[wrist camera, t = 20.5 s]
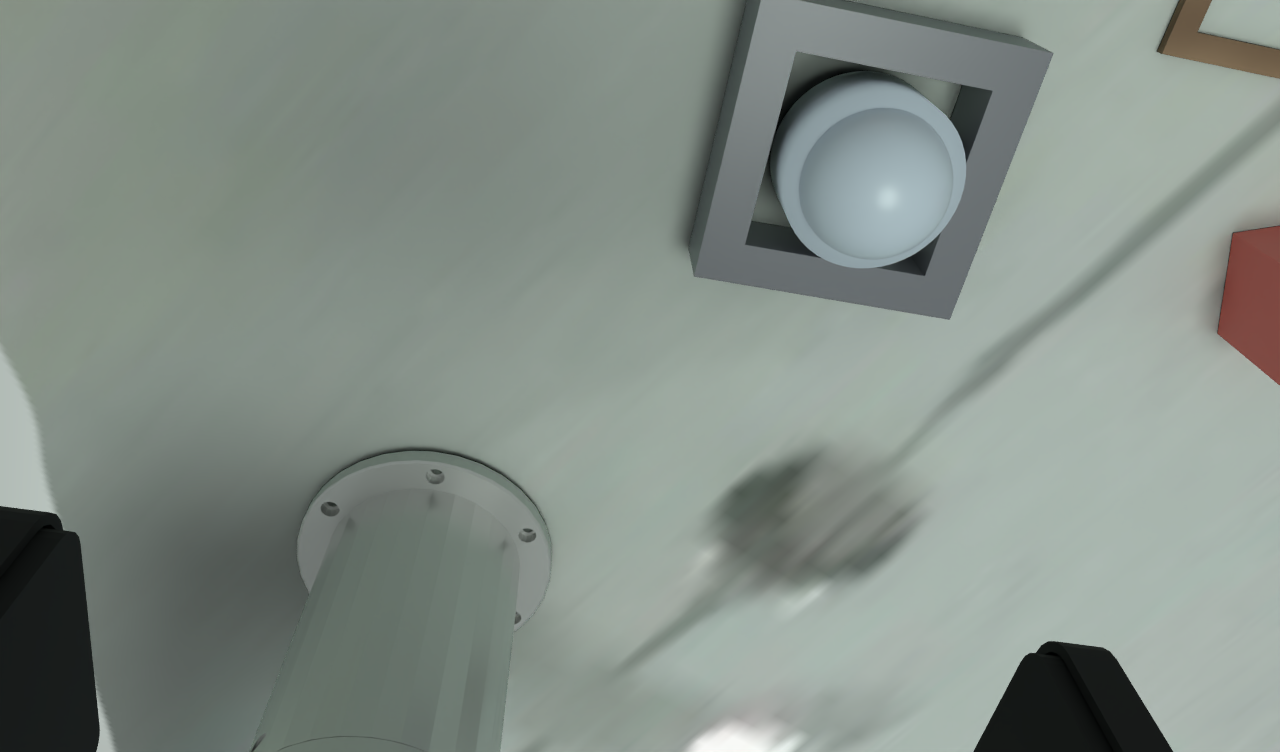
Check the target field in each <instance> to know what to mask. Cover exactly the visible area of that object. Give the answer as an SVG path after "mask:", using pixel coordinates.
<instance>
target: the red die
mask: <svg viewBox="0 0 1280 752" xmlns="http://www.w3.org/2000/svg"><path fill="white" fill-rule="evenodd" d="M1217 334H1219V335H1220V336H1221V337H1222V338H1223V339H1225V340H1226V341H1227V342H1228V343H1229V344H1231V345H1232V346H1233V347H1234V348H1235V349H1237V350H1238V351H1239V352H1240V353H1241V354H1243V355H1244V356H1245V357H1246V358H1247V359H1249V360H1250V361H1251V362H1252V363H1253V364H1255V365H1256V366H1257V367H1258V368H1259V369H1261V370H1262V371H1263V372H1264V373H1265V374H1267V375H1268V376H1269V377H1270V378H1271V379H1273V380H1274V381H1275V382H1276V383H1277V384H1279V385H1280V226H1275V227H1269V228H1262V229H1256V230H1250V231H1243V232H1237V233H1233V237H1232V243H1231V250H1230V256H1229V263H1228V269H1227V276H1226V282H1225V288H1224V295H1223V301H1222V308H1221V314H1220V321H1219V327H1218V333H1217Z"/></svg>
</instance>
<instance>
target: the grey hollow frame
mask: <svg viewBox="0 0 1280 752" xmlns="http://www.w3.org/2000/svg"><path fill="white" fill-rule="evenodd" d="M796 51H797V52H802V53H807V54H812V55H817V56H822V57H827V58H832V59H837V60H842V61H847V62H852V63H857V64H862V65H867V66H872V67H877V68H882V69H887V70H892V71H897V72H902V73H907V74H912V75H917V76H922V77H927V78H932V79H937V80H942V81H947V82H952V83H957V84H962V88H961V91H960V94H959V96H958V99H957V102H956V105H955V108H954V111H953V114H952V116H951V119H950V121H951V122H952V124H953V125H954V127H955V128H956V130H957V132H958V134H959V136H960V139H961V141H962V144H963V148H964V152H965V158H966V179H965V185H964V190H963V193H962V196H961V200H960V202H959V204H958V207H957V209H956V211H955V213H954V214H953V216H952V218H951V219H950V221H949V222H948V224H947V225H946V226H945V228H944V229H943V230H942V231H941V232H940V234H939V235H938V236H937V237H936V238H935V239H934V240H933V241H931V242H930V243H929V244H928V245H927V246H925V247H924V248H923V249H921V250H920V251H918V252H917V253H915V254H913V255H912V256H910V257H908V258H906V259H904V260H901V261H898V262H896V263H893V264H890V265H886V266H882V267H875V268H851V267H845V266H841V265H837V264H834V263H831V262H829V261H826V260H825V259H823V258H821V257H819V256H817V255H816V254H815V253H813V252H812V251H811V250H809V249H808V248H807V247H806V246H805V245H804V244H803V243H802V242H801V241H800V239H799V238H798V237H797V235H796V234H795V232H794V231H793V229H792V228H788V227H782V226H776V225H771V224H765V223H759V222H754V221H751V220H752V216H753V212H754V209H755V205H756V201H757V197H758V194H759V190H760V186H761V182H762V179H763V175H764V171H765V167H766V163H767V160H768V156H769V152H770V148H771V145H772V141H773V137H774V133H775V130H776V126H777V122H778V118H779V114H780V111H781V107H782V103H783V99H784V96H785V92H786V88H787V84H788V80H789V77H790V73H791V69H792V65H793V62H794V58H795V54H796ZM1052 56H1053V53H1052V52H1050V51H1048V50H1046V49H1044V48H1042V47H1040V46H1038V45H1037V44H1035V43H1033V42H1031V41H1029V40H1027V39H1025V38H1023V37H1018V36H1013V35H1008V34H1004V33H999V32H994V31H989V30H984V29H980V28H975V27H970V26H965V25H961V24H956V23H951V22H946V21H941V20H937V19H932V18H927V17H922V16H918V15H913V14H908V13H903V12H898V11H894V10H889V9H884V8H879V7H874V6H870V5H865V4H860V3H855V2H851V1H846V0H747V2H746V6H745V11H744V15H743V19H742V23H741V28H740V32H739V36H738V40H737V45H736V49H735V53H734V57H733V62H732V66H731V70H730V74H729V79H728V83H727V87H726V91H725V96H724V100H723V104H722V108H721V113H720V117H719V121H718V125H717V129H716V134H715V138H714V142H713V146H712V151H711V155H710V159H709V163H708V168H707V172H706V176H705V180H704V185H703V189H702V193H701V197H700V202H699V206H698V210H697V214H696V219H695V223H694V227H693V231H692V236H691V240H690V244H689V253H690V258H691V263H692V268H693V273H694V276H695V277H701V278H707V279H713V280H719V281H725V282H730V283H736V284H742V285H748V286H754V287H760V288H766V289H772V290H778V291H784V292H789V293H795V294H801V295H807V296H813V297H819V298H825V299H831V300H837V301H843V302H849V303H854V304H860V305H866V306H872V307H878V308H884V309H890V310H896V311H902V312H908V313H913V314H919V315H925V316H931V317H937V318H943V319H949V320H950V318H951V315H952V313H953V310H954V307H955V305H956V302H957V300H958V297H959V295H960V292H961V289H962V287H963V284H964V282H965V279H966V277H967V274H968V271H969V269H970V266H971V264H972V261H973V259H974V256H975V254H976V251H977V248H978V246H979V243H980V241H981V238H982V236H983V233H984V230H985V228H986V225H987V223H988V220H989V218H990V215H991V212H992V210H993V207H994V205H995V202H996V200H997V197H998V194H999V192H1000V189H1001V187H1002V184H1003V182H1004V179H1005V177H1006V174H1007V171H1008V169H1009V166H1010V164H1011V161H1012V159H1013V156H1014V153H1015V151H1016V148H1017V146H1018V143H1019V141H1020V138H1021V135H1022V133H1023V130H1024V128H1025V125H1026V123H1027V120H1028V117H1029V115H1030V112H1031V110H1032V107H1033V105H1034V102H1035V100H1036V97H1037V94H1038V92H1039V89H1040V87H1041V84H1042V82H1043V79H1044V76H1045V74H1046V71H1047V69H1048V66H1049V64H1050V61H1051V58H1052Z"/></svg>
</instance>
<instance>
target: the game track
mask: <svg viewBox="0 0 1280 752" xmlns="http://www.w3.org/2000/svg"><path fill="white" fill-rule="evenodd" d="M1211 1H1212V0H1180V1H1179V3H1178V5H1177V7H1176V10H1175V12H1174V14H1173V17H1172V19H1171V21H1170V23H1169V26H1168V28H1167V30H1166V32H1165V35H1164V37H1163V39H1162V42H1161V44H1160V46H1159V48H1158V51H1157V52H1159V53H1161V54H1166V55H1170V56H1175V57H1180V58H1185V59H1189V60H1194V61H1199V62H1204V63H1208V64H1213V65H1218V66H1223V67H1227V68H1232V69H1237V70H1242V71H1246V72H1251V73H1256V74H1261V75H1265V76H1270V77H1275V78H1280V50H1279V49H1274V48H1270V47H1265V46H1260V45H1256V44H1251V43H1247V42H1242V41H1237V40H1233V39H1228V38H1223V37H1219V36H1214V35H1209V34H1205V33H1200V32H1198V30H1199V27H1200V25H1201V23H1202V21H1203V19H1204V16H1205V14H1206V12H1207V10H1208V8H1209V5H1210V3H1211Z"/></svg>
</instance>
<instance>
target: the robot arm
mask: <svg viewBox="0 0 1280 752" xmlns="http://www.w3.org/2000/svg"><path fill="white" fill-rule="evenodd" d="M297 561H298V566H299V570H300V575H301V578H302V580H303V582H304V584H305V586H306V588H307V590H308V592H309V597H308V599H307V602H306V605H305V607H304V610H303V612H302V615H301V618H300V620H299V623H298V626H297V628H296V631H295V633H294V636H293V639H292V641H291V644H290V647H289V649H288V652H287V654H286V657H285V660H284V662H283V665H282V667H281V670H280V673H279V675H278V678H277V681H276V683H275V686H274V688H273V691H272V694H271V696H270V699H269V702H268V704H267V707H266V709H265V712H264V715H263V717H262V720H261V722H260V725H259V728H258V730H257V733H256V736H255V738H254V741H253V743H252V746H251V749H250V751H249V752H500V748H501V739H502V730H503V721H504V712H505V703H506V694H507V685H508V676H509V667H510V659H511V650H512V641H513V633H514V632H515V631H517V630H518V629H519V628H521V627H522V626H523V625H524V624H525V623H526V622H527V621H528V620H529V619H530V618H531V617H532V616H533V615H534V614H535V612H536V610H537V609H538V607H539V605H540V604H541V602H542V601H543V599H544V597H545V594H546V591H547V588H548V585H549V582H550V575H551V565H552V553H551V541H550V538H549V534H548V531H547V528H546V524H545V522H544V521H543V519H542V517H541V515H540V514H539V512H538V510H537V508H536V506H535V505H534V504H533V503H532V502H531V501H530V500H529V498H528V497H527V496H526V495H525V494H524V493H523V492H522V490H520V489H519V488H518V487H517V486H515V485H514V484H513V483H512V482H510V481H509V480H508V479H506V478H505V477H504V476H502V475H501V474H499V473H497V472H495V471H493V470H491V469H490V468H488V467H486V466H484V465H482V464H479V463H477V462H474V461H471V460H468V459H465V458H462V457H459V456H455V455H449V454H444V453H438V452H431V451H403V452H396V453H389V454H382V455H379V456H376V457H373V458H370V459H366V460H363V461H360V462H358V463H356V464H354V465H353V466H351V467H349V468H347V469H345V470H343V471H341V472H340V473H338V474H337V475H336V476H335V477H334V478H332V479H331V480H330V481H329V482H328V483H326V484H325V485H324V486H323V487H322V489H321V490H320V491H319V492H318V494H317V495H316V496H315V498H314V499H313V500H312V502H311V504H310V506H309V508H308V510H307V512H306V514H305V517H304V519H303V521H302V524H301V528H300V531H299V534H298V538H297ZM99 731H100V729H99V718H98V708H97V698H96V688H95V679H94V669H93V660H92V650H91V640H90V631H89V621H88V612H87V602H86V592H85V583H84V573H83V564H82V554H81V544H80V540H79V537H78V535H77V534H76V533H75V532H71V531H63V527H62V523H61V520H60V519H59V517H58V516H57V514H53V513H49V512H41V511H33V510H25V509H18V508H10V507H2V506H0V752H96V750H97V746H98V741H99ZM974 752H1173V751H1172V749H1171V747H1170V746H1169V744H1168V742H1167V741H1166V739H1165V738H1164V736H1163V734H1162V733H1161V731H1160V729H1159V728H1158V726H1157V725H1156V723H1155V721H1154V720H1153V718H1152V716H1151V715H1150V713H1149V711H1148V710H1147V708H1146V707H1145V705H1144V703H1143V702H1142V700H1141V698H1140V697H1139V695H1138V694H1137V692H1136V690H1135V689H1134V687H1133V685H1132V684H1131V682H1130V681H1129V679H1128V677H1127V676H1126V674H1125V672H1124V671H1123V669H1122V668H1121V666H1120V664H1119V663H1118V661H1117V659H1116V658H1115V657H1114V656H1113V655H1112V653H1111V652H1110V651H1108V650H1106V649H1104V648H1102V647H1094V646H1086V645H1079V644H1071V643H1063V642H1055V641H1048V642H1046V643H1045V644H1043V645H1041V647H1040V648H1039V649H1038V651H1037V652H1036V653H1029V654H1028V655H1026V656H1025V657H1024V658H1023V660H1022V661H1021V663H1020V665H1019V666H1018V668H1017V670H1016V672H1015V674H1014V676H1013V678H1012V680H1011V682H1010V683H1009V685H1008V687H1007V689H1006V691H1005V693H1004V695H1003V697H1002V699H1001V700H1000V702H999V704H998V706H997V708H996V710H995V712H994V714H993V716H992V718H991V719H990V721H989V723H988V725H987V727H986V729H985V731H984V733H983V735H982V736H981V738H980V740H979V742H978V744H977V746H976V748H975V750H974Z"/></svg>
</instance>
